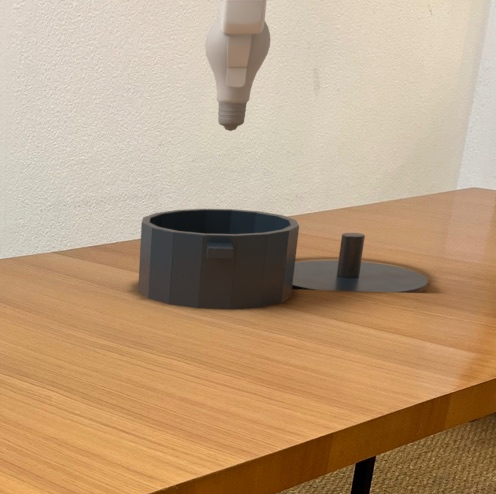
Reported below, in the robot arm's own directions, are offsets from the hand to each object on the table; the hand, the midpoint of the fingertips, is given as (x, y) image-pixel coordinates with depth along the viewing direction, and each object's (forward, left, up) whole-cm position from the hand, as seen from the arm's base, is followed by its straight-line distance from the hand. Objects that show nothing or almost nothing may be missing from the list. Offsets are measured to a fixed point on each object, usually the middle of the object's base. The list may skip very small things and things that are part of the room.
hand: (234, 85), depth 103 cm
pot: (0, +1, -21) cm, 21 cm away
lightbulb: (0, 0, -4) cm, 4 cm away
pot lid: (-14, -9, -21) cm, 27 cm away
